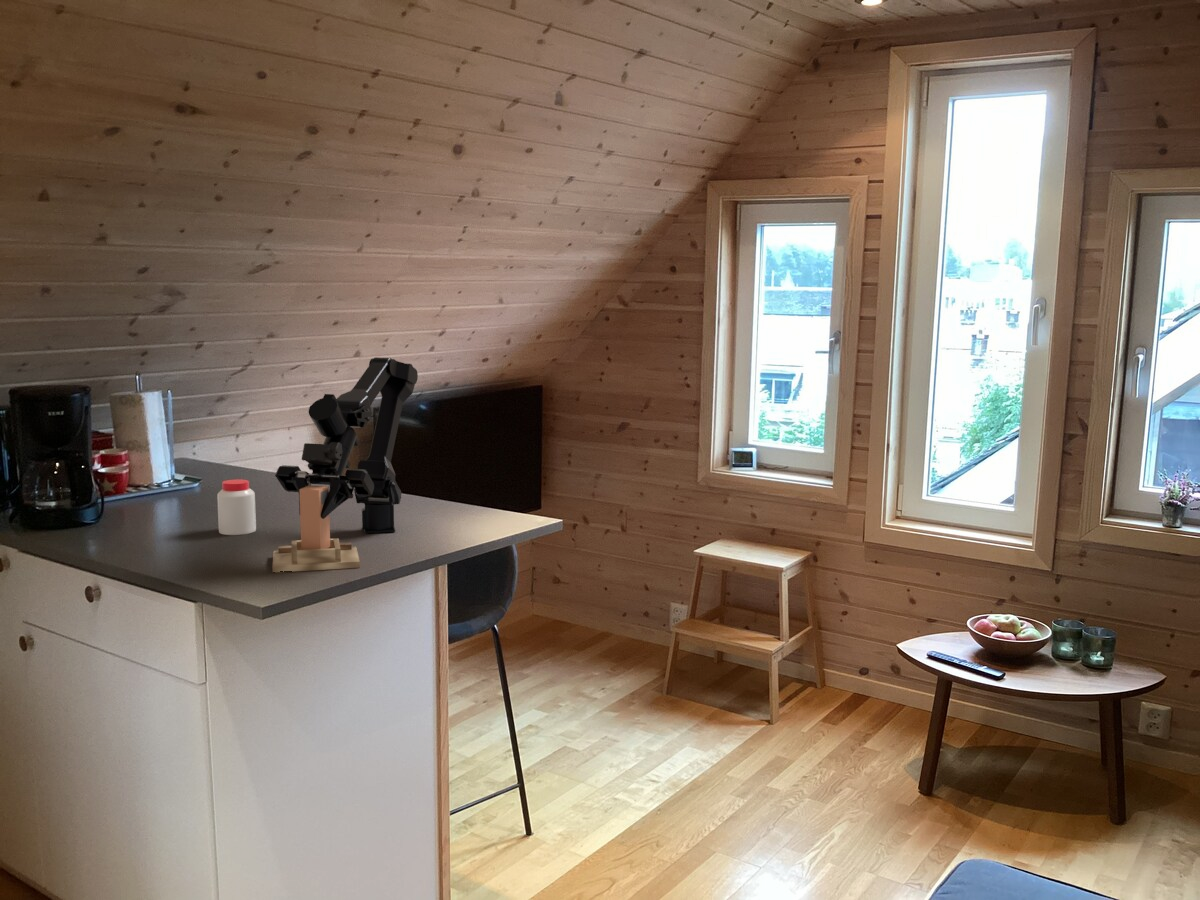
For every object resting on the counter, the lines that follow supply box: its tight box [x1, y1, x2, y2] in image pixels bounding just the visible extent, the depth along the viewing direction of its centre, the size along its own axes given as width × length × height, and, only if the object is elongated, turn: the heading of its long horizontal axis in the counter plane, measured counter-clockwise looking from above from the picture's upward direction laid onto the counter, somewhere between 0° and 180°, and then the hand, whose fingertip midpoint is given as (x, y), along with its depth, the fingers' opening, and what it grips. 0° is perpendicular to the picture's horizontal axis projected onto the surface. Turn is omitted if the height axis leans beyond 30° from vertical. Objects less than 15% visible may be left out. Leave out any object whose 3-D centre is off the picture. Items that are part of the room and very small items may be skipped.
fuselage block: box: [299, 485, 331, 550], centre depth 206 cm, size 4×4×12 cm
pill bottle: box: [216, 478, 257, 536], centre depth 233 cm, size 8×8×11 cm
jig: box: [272, 537, 361, 573], centre depth 208 cm, size 16×12×4 cm
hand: (311, 516), depth 205 cm, fingers closed on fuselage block, 4 cm apart
